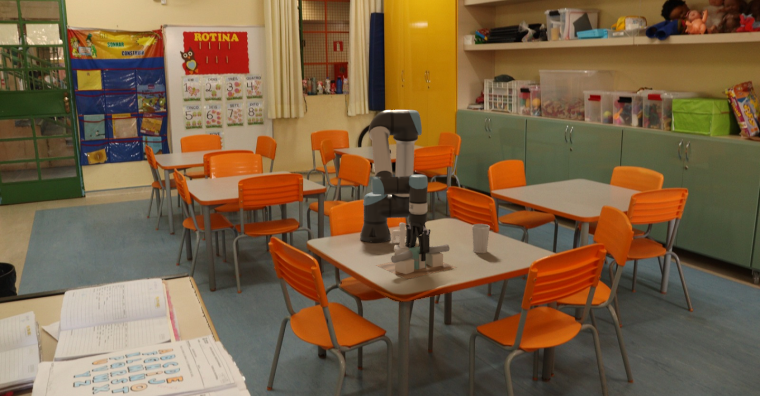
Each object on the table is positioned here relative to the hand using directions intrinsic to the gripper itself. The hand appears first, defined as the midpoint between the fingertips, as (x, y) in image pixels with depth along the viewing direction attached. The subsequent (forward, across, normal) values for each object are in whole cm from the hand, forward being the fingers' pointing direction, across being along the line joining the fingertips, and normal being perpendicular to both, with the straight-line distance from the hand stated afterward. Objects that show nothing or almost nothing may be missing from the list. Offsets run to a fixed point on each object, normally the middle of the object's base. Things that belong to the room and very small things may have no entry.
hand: (417, 266), depth 261 cm
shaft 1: (0, +2, -9) cm, 9 cm away
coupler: (0, 0, 0) cm, 0 cm away
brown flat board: (+1, -1, 0) cm, 2 cm away
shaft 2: (0, +2, +9) cm, 10 cm away
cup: (+1, -4, +40) cm, 40 cm away
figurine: (+1, -20, +7) cm, 21 cm away
